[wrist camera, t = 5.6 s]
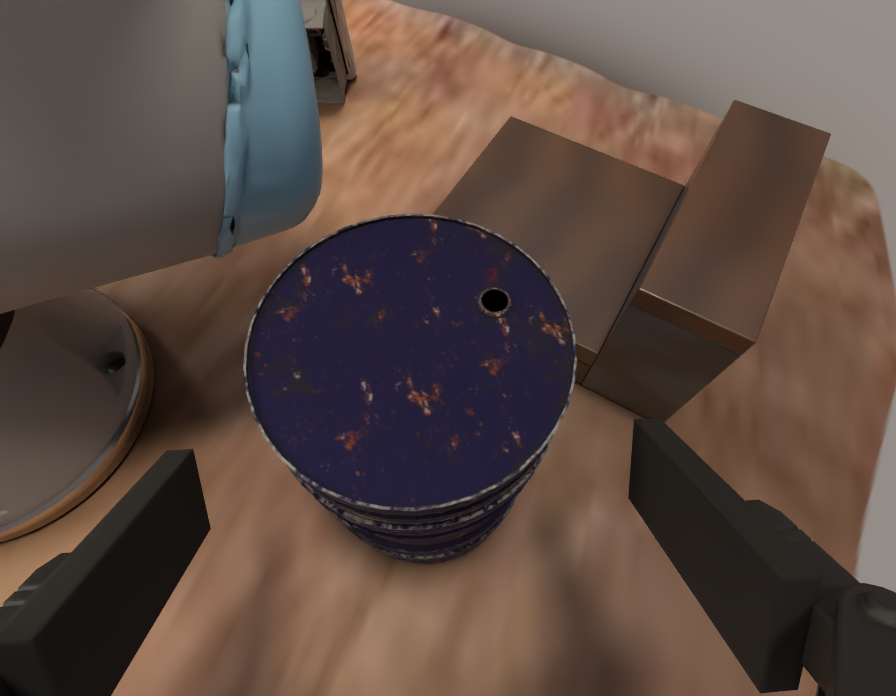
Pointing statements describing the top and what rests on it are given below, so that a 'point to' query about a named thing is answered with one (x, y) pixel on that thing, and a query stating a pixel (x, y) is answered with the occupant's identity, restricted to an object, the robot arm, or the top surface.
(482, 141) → the top surface
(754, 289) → the l-shaped metal base
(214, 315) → the top surface
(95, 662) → the robot arm
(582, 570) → the top surface
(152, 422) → the top surface
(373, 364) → the blue oil drum
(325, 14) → the electrical switch
